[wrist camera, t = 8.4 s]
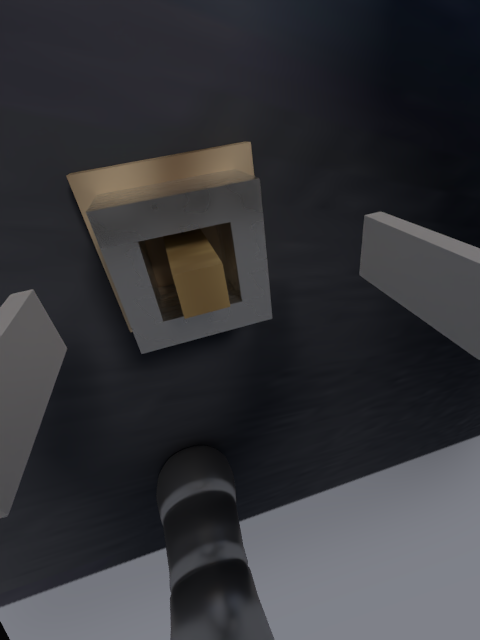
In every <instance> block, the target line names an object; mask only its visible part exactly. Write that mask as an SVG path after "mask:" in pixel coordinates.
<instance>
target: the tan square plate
mask: <svg viewBox="0 0 480 640" xmlns="http://www.w3.org/2000/svg"><path fill="white" fill-rule="evenodd" d="M232 169H237V170H239V171H242V172H244V173H247V174H250V175H252V176H254V170H253V160H252V151H251V142H240V143H235V144H229V145H224V146H218V147H213V148H207V149H202V150H196V151H191V152H185V153H180V154H174V155H169V156H163V157H158V158H152V159H147V160H141V161H136V162H130V163H125V164H119V165H114V166H108V167H103V168H97V169H92V170H86V171H81V172H75V173H70V174H68V175H67V176H66V177H67V179H68V181H69V184H70V186H71V189H72V191H73V194H74V196H75V199H76V201H77V203H78V206H79V208H80V211H81V213H82V216H83V218H84V221H85V223H86V225H87V228H88V230H89V233H90V235H91V238H92V240H93V242H94V245H95V247H96V250H97V252H98V255H99V257H100V260H101V262H102V264H103V267H104V269H105V272H106V274H107V277H108V279H109V282H110V284H111V286H112V289H113V291H114V294H115V296H116V299H117V301H118V304H119V306H120V308H121V311H122V313H123V316H124V318H125V321H126V323H127V325H128V328H129V330H130V333H131V332H133V331H132V328H131V326H130V323H129V321H128V318H127V316H126V313H125V311H124V308H123V306H122V303H121V300H120V298H119V295H118V293H117V290H116V288H115V285H114V283H113V280H112V278H111V275H110V273H109V270H108V267H107V265H106V262H105V260H104V257H103V255H102V252H101V250H100V247H99V245H98V242H97V239H96V237H95V234H94V232H93V229H92V227H91V224H90V222H89V219H88V217H87V214H86V211H87V209H88V208H89V206H90V205H91V203H92V202H93V200H94V198H95V197H96V195H97V194H103V193H108V192H114V191H119V190H124V189H130V188H135V187H140V186H146V185H151V184H156V183H162V182H167V181H173V180H178V179H183V178H189V177H194V176H199V175H205V174H210V173H216V172H221V171H226V170H232ZM144 242H145V245H146V248H147V251H148V255H149V258H150V261H151V264H152V268H153V271H154V274H155V277H156V281H157V284H158V287H163V286H167V285H172V284H175V287H176V290H177V294H178V297H179V301H180V304H181V308H182V311H183V315H184V318H185V319H186V318H190V317H194V316H197V315H201V314H205V313H209V312H212V311H216V310H220V309H224V308H227V307H230V301H229V296H228V290H227V285H226V279H225V274H224V268H223V263H222V258H221V252H220V246H219V240H218V235H217V229H216V225H214V226H209V227H204V228H200V229H195V230H190V231H186V232H181V233H176V234H172V235H167V236H162V237H158V238H153V239H148V240H144Z"/></svg>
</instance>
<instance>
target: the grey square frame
mask: <svg viewBox="0 0 480 640" xmlns="http://www.w3.org/2000/svg"><path fill="white" fill-rule="evenodd" d="M86 214H87V217H88V219H89V222H90V224H91V227H92V229H93V232H94V234H95V237H96V239H97V242H98V245H99V247H100V250H101V252H102V255H103V257H104V260H105V262H106V265H107V267H108V270H109V273H110V275H111V278H112V280H113V283H114V285H115V288H116V290H117V293H118V295H119V298H120V300H121V303H122V306H123V308H124V311H125V313H126V316H127V318H128V321H129V323H130V326H131V328H132V331H133V334H134V336H135V339H136V341H137V344H138V346H139V349H140V351H141V354H144V353H147V352H151V351H155V350H158V349H162V348H166V347H169V346H173V345H177V344H180V343H184V342H188V341H192V340H195V339H199V338H203V337H206V336H210V335H214V334H217V333H221V332H225V331H228V330H232V329H236V328H239V327H243V326H247V325H250V324H254V323H258V322H261V321H265V320H269V319H272V309H271V298H270V287H269V276H268V265H267V253H266V242H265V231H264V220H263V209H262V198H261V186H260V178H257V177H255V176H252V175H250V174H247V173H244V172H242V171H239V170H237V169H232V170H226V171H221V172H216V173H210V174H205V175H199V176H194V177H189V178H183V179H178V180H173V181H167V182H162V183H156V184H151V185H146V186H140V187H135V188H130V189H124V190H119V191H114V192H108V193H103V194H97V195H96V197H95V198H94V200H93V202H92V203H91V205H90V206H89V208H88V209H87V211H86ZM214 225H216V229H217V235H218V240H219V246H220V252H221V258H222V263H223V268H224V274H225V279H226V285H227V290H228V296H229V301H230V307H227V308H224V309H220V310H216V311H212V312H209V313H205V314H201V315H197V316H194V317H190V318H186V319H185V318H184V315H183V311H182V308H181V304H180V301H179V297H178V294H177V290H176V287H175V284H172V285H167V286H163V287H158V284H157V281H156V277H155V274H154V271H153V268H152V264H151V261H150V258H149V255H148V251H147V248H146V245H145V242H144V240H148V239H153V238H158V237H162V236H167V235H172V234H176V233H181V232H186V231H190V230H195V229H200V228H204V227H209V226H214Z"/></svg>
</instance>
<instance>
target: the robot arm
mask: <svg viewBox="0 0 480 640" xmlns="http://www.w3.org/2000/svg"><path fill="white" fill-rule="evenodd" d="M359 275H360V276H361V277H363V278H364V279H366V280H367V281H368V282H370V283H371V284H373V285H374V286H375V287H377V288H378V289H380V290H381V291H382V292H384V293H385V294H387V295H388V296H389V297H391V298H392V299H394V300H395V301H397V302H398V303H399V304H401V305H402V306H404V307H405V308H406V309H408V310H409V311H411V312H412V313H413V314H415V315H416V316H418V317H419V318H420V319H422V320H423V321H425V322H426V323H427V324H429V325H430V326H432V327H433V328H435V329H436V330H437V331H439V332H440V333H442V334H443V335H444V336H446V337H447V338H449V339H450V340H451V341H453V342H454V343H456V344H457V345H458V346H460V347H461V348H463V349H464V350H466V351H467V352H468V353H470V354H471V355H473V356H474V357H475V358H477V359H478V360H480V248H477V247H475V246H472V245H469V244H467V243H464V242H461V241H459V240H456V239H453V238H451V237H448V236H445V235H443V234H440V233H437V232H435V231H432V230H429V229H427V228H424V227H421V226H418V225H416V224H413V223H410V222H408V221H405V220H402V219H400V218H397V217H394V216H392V215H389V214H386V213H384V212H377V213H372V214H368V215H364V226H363V238H362V249H361V261H360V273H359ZM66 350H67V347H66V345H65V344H64V342H63V340H62V339H61V337H60V335H59V333H58V332H57V330H56V328H55V326H54V325H53V323H52V321H51V319H50V318H49V316H48V314H47V312H46V311H45V309H44V307H43V305H42V304H41V302H40V300H39V299H38V297H37V295H36V293H35V292H34V290H28V291H24V292H19V293H15V294H11V295H10V296H9V297H8V298H7V300H6V301H5V302H4V303H3V305H2V306H1V307H0V518H3V517H6V516H8V515H9V512H10V509H11V506H12V503H13V500H14V498H15V495H16V492H17V489H18V486H19V483H20V481H21V478H22V475H23V472H24V469H25V466H26V464H27V461H28V458H29V455H30V452H31V449H32V447H33V444H34V441H35V438H36V435H37V432H38V430H39V427H40V424H41V421H42V418H43V415H44V413H45V410H46V407H47V404H48V401H49V398H50V396H51V393H52V390H53V387H54V384H55V381H56V379H57V376H58V373H59V370H60V367H61V364H62V362H63V359H64V356H65V353H66ZM0 640H10V639H9V637H8V635H7V633H6V632H5V630H4V628H3V626H2V624H1V622H0Z"/></svg>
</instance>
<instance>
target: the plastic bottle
mask: <svg viewBox="0 0 480 640" xmlns="http://www.w3.org/2000/svg"><path fill="white" fill-rule="evenodd" d="M156 499H157V504H158V510H159V514H160V518H161V522H162V525H163V529H164V536H165V543H166V550H167V557H168V565H169V572H170V590H171V597H170V611H171V640H274V637H273V635H272V632H271V630H270V627H269V624H268V622H267V619H266V616H265V613H264V611H263V608H262V605H261V603H260V600H259V597H258V595H257V591H256V588H255V585H254V581H253V577H252V574H251V571H250V568H249V567H248V561H247V557H246V554H245V550H244V547H243V542H242V536H241V530H240V525H239V519H238V513H237V507H236V491H235V482H234V474H233V471H232V469H231V467H230V465H229V463H228V461H227V458H226V457H225V456H224V454H222V453H221V452H219V451H218V450H217V449H215V448H213V447H210V446H203V445H199V446H192V447H189V448H186V449H183V450H181V451H179V452H177V453H175V454H174V455H173V456H171V457H170V458H169V459H168V460H167V462H166V463H165V465H164V466H163V468H162V470H161V471H160V474H159V476H158V483H157V492H156Z"/></svg>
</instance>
